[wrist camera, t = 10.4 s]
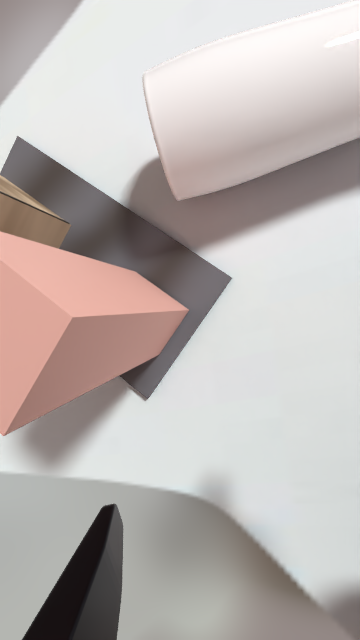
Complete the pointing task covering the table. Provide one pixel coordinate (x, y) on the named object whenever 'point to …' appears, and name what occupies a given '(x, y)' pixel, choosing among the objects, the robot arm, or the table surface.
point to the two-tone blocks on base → (106, 243)
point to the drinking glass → (256, 100)
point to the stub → (71, 326)
